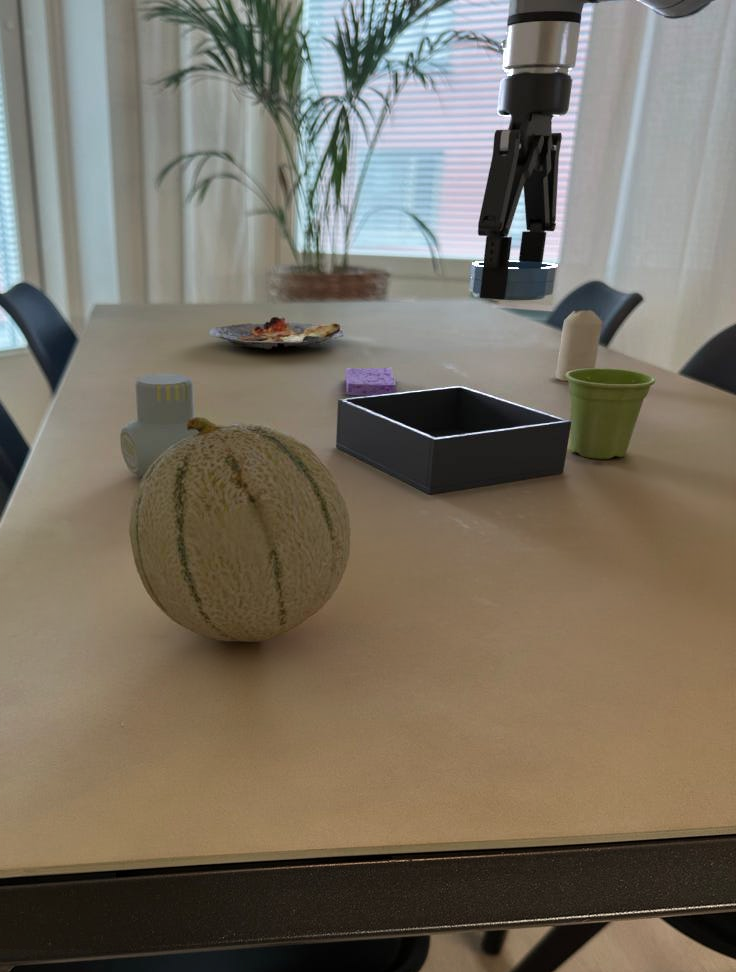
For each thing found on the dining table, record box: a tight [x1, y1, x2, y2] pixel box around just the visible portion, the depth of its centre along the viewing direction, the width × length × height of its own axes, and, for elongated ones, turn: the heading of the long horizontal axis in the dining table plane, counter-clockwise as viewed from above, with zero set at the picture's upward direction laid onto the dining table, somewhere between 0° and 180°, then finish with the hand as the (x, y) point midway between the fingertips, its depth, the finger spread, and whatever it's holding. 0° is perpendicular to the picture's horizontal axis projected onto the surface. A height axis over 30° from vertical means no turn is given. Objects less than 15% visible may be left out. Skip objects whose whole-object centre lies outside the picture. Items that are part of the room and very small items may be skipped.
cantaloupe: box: [128, 416, 351, 643], centre depth 61 cm, size 15×15×15 cm
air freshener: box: [119, 373, 199, 479], centre depth 95 cm, size 11×8×10 cm
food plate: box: [207, 316, 344, 350], centre depth 168 cm, size 25×23×4 cm
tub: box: [335, 385, 571, 495], centre depth 101 cm, size 19×17×6 cm
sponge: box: [345, 367, 397, 397], centre depth 135 cm, size 7×13×2 cm, turn 176°
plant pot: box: [566, 367, 656, 460], centre depth 103 cm, size 9×9×9 cm
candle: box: [555, 309, 603, 382], centre depth 139 cm, size 6×6×10 cm
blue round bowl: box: [468, 260, 558, 301], centre depth 108 cm, size 10×10×4 cm
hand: (510, 293), depth 108 cm, fingers closed on blue round bowl, 10 cm apart
